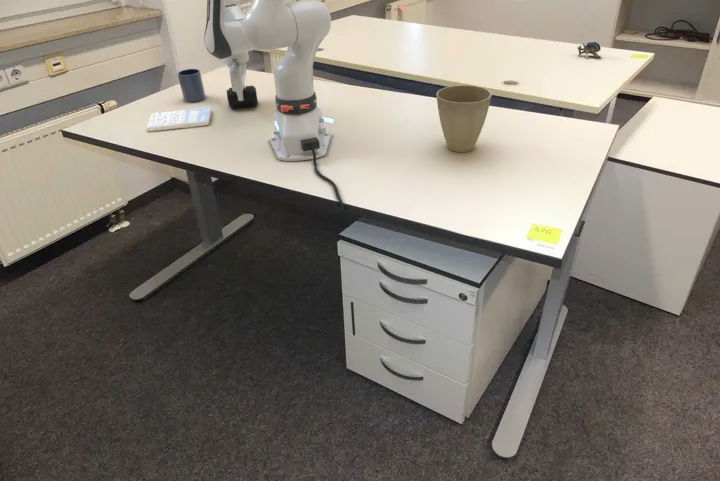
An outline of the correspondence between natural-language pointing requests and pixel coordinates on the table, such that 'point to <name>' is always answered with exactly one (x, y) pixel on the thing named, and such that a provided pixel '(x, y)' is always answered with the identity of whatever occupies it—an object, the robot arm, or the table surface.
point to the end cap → (248, 100)
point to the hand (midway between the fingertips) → (241, 95)
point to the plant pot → (462, 114)
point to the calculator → (179, 119)
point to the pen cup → (191, 85)
